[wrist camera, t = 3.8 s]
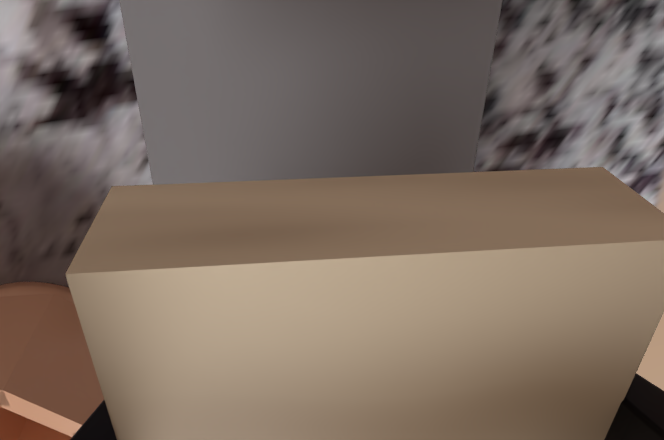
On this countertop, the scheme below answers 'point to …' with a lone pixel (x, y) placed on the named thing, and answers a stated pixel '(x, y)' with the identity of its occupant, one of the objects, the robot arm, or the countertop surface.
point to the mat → (309, 86)
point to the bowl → (43, 364)
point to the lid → (371, 306)
